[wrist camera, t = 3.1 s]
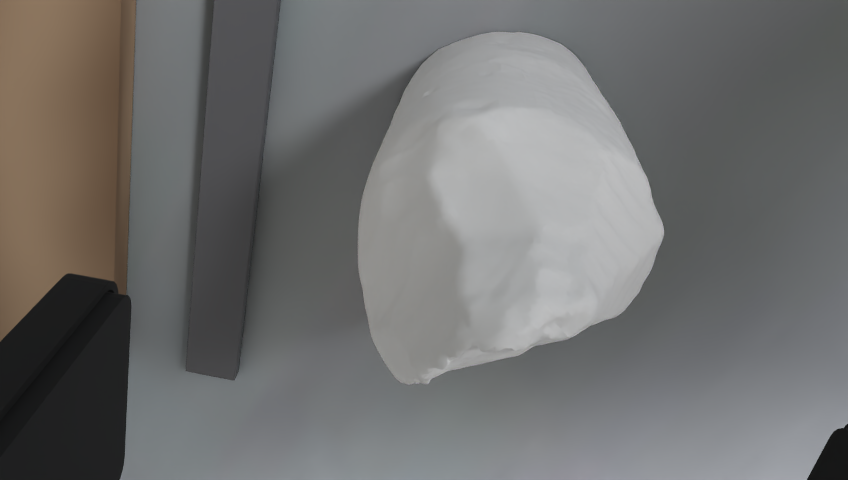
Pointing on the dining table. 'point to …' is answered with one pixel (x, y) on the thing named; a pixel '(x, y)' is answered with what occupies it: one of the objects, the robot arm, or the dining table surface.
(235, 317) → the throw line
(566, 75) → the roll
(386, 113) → the dining table surface
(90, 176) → the board
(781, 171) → the dining table surface
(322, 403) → the dining table surface
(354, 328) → the dining table surface
